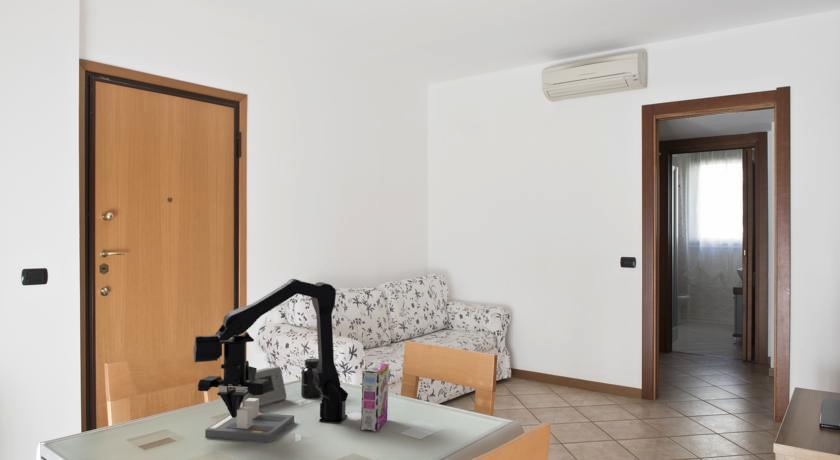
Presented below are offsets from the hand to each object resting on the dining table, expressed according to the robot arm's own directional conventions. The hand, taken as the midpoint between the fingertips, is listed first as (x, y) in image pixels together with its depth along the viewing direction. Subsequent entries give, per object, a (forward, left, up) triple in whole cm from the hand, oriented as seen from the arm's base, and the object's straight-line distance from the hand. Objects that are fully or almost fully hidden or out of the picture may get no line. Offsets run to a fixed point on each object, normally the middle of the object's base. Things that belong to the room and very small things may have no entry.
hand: (234, 417), depth 152 cm
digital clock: (+5, -26, -5) cm, 27 cm away
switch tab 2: (-3, 0, -2) cm, 4 cm away
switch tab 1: (-1, -8, -2) cm, 8 cm away
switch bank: (-3, -4, -4) cm, 7 cm away
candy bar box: (-35, -15, -5) cm, 38 cm away
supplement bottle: (-7, -38, -5) cm, 39 cm away
